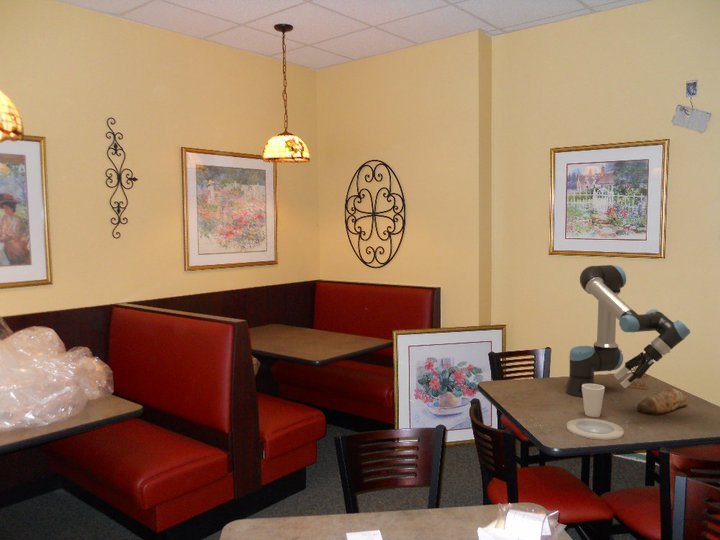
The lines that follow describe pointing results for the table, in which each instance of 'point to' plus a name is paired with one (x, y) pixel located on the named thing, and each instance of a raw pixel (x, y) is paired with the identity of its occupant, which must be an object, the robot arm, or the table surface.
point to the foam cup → (592, 399)
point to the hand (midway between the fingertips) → (619, 381)
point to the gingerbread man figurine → (639, 382)
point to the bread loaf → (662, 402)
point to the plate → (595, 429)
